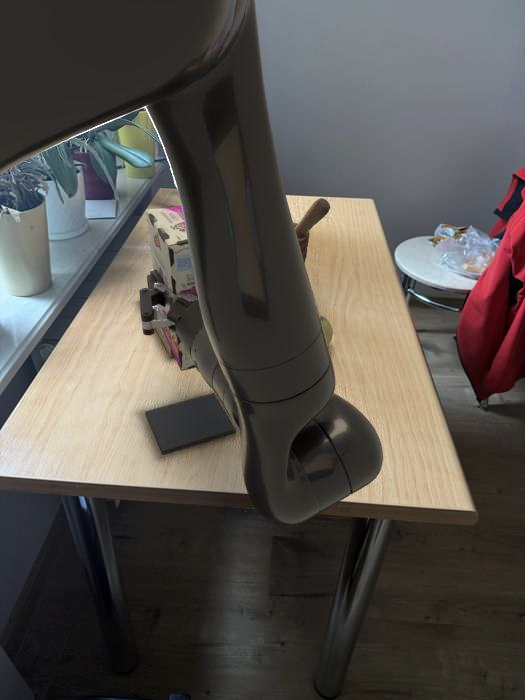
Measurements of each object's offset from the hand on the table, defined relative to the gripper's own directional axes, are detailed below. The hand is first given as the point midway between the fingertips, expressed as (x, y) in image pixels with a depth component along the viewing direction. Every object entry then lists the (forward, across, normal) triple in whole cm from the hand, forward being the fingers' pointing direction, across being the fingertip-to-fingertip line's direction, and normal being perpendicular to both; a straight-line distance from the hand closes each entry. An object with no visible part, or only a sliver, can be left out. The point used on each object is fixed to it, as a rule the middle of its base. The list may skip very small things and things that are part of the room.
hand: (176, 273), depth 64 cm
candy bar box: (-2, 0, +9) cm, 9 cm away
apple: (+3, -23, +20) cm, 30 cm away
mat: (-5, +1, +20) cm, 20 cm away
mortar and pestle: (+19, -27, +20) cm, 39 cm away
